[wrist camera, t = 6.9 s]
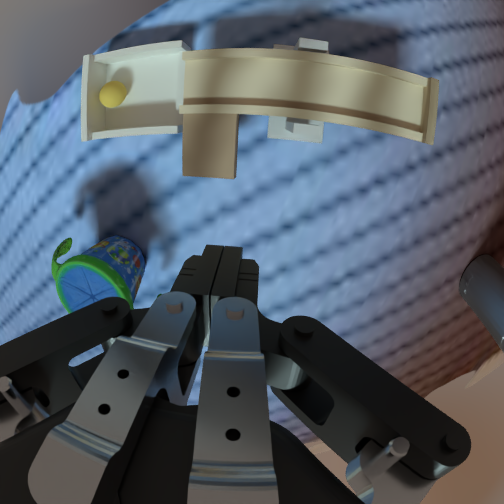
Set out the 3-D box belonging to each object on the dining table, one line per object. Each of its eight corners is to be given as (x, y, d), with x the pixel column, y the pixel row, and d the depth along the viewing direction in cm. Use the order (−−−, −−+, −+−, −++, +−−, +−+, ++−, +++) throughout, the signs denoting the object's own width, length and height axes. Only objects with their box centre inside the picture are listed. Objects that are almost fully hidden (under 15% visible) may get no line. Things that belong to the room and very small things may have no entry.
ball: (114, 83, 25) (132, 78, 24) (113, 108, 27) (131, 105, 26) (94, 83, 23) (111, 78, 22) (93, 110, 24) (110, 106, 23)
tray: (191, 48, 24) (179, 37, 20) (187, 130, 29) (174, 134, 24) (105, 60, 24) (83, 55, 20) (103, 136, 29) (81, 141, 24)
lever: (426, 82, 18) (439, 80, 16) (409, 201, 24) (420, 210, 21) (190, 55, 21) (178, 50, 18) (186, 173, 26) (175, 179, 24)
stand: (327, 52, 24) (349, 35, 17) (320, 142, 29) (340, 152, 22) (273, 45, 24) (278, 23, 17) (267, 137, 29) (270, 144, 22)
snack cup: (71, 251, 36) (34, 288, 27) (94, 198, 33) (49, 228, 24) (151, 309, 41) (129, 357, 32) (185, 264, 37) (164, 314, 28)
